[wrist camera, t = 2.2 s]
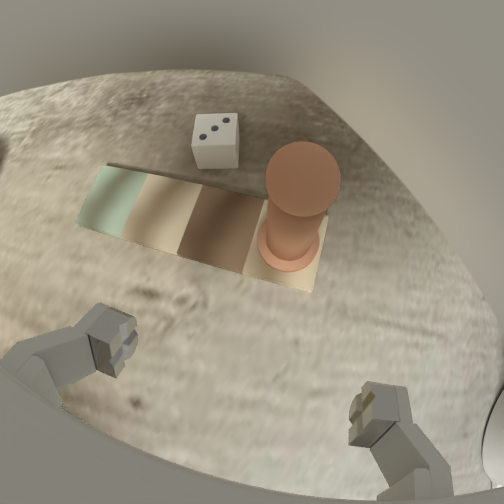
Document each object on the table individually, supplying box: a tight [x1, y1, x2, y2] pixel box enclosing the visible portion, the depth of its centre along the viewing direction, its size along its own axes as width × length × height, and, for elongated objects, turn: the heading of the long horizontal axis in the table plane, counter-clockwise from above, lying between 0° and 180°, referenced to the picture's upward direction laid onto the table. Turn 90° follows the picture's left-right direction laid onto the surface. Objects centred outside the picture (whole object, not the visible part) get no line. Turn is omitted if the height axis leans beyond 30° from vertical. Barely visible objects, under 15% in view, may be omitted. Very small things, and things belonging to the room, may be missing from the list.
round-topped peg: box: [257, 141, 341, 272], centre depth 21 cm, size 5×5×13 cm
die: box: [191, 113, 240, 169], centre depth 29 cm, size 4×4×4 cm
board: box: [75, 165, 329, 293], centre depth 28 cm, size 24×7×1 cm, turn 74°
